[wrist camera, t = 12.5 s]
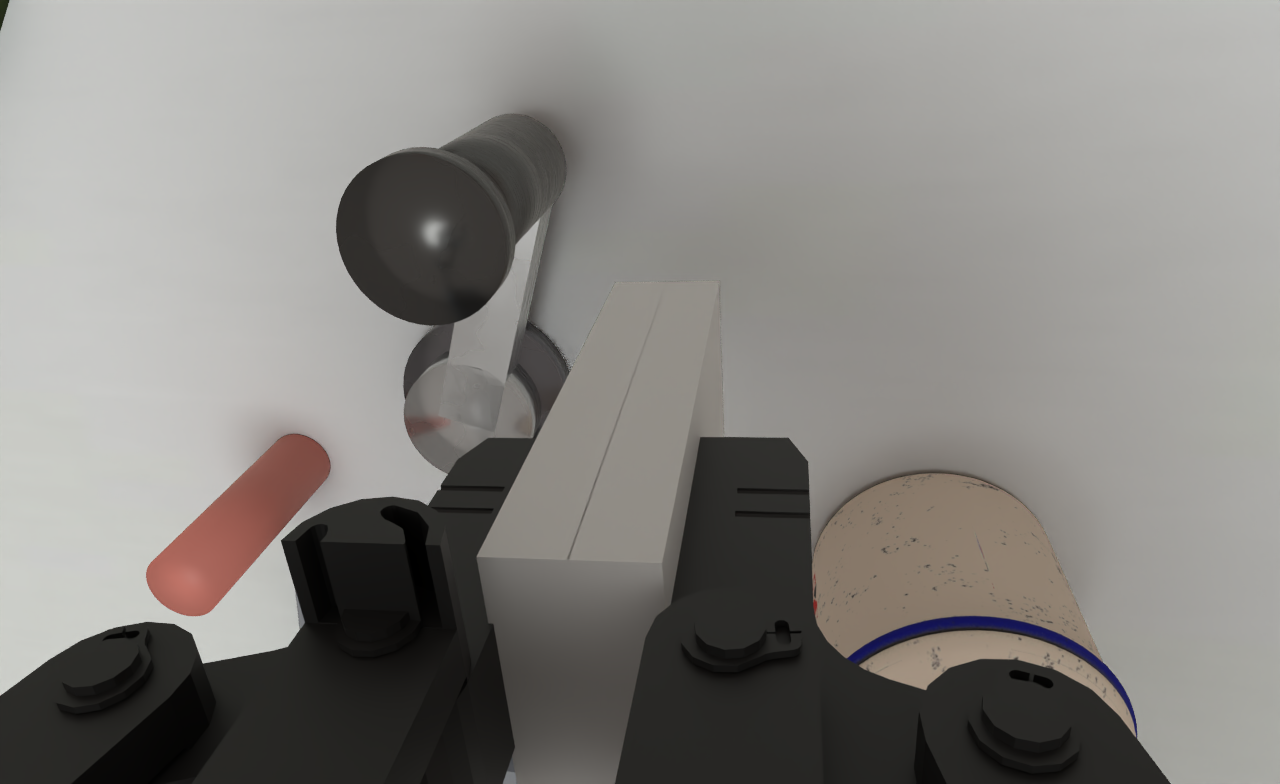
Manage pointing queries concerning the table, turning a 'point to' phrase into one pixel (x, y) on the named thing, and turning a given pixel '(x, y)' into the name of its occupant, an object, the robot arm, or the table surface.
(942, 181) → the table surface
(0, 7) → the topographic map model
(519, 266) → the crank arm
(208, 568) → the post
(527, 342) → the crank base
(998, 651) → the teacup with lid
